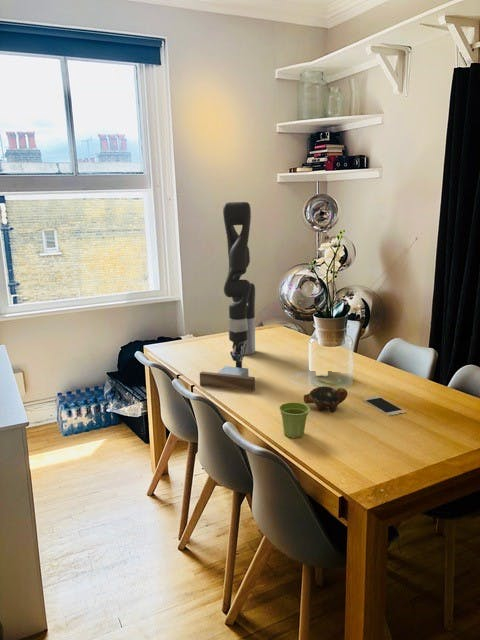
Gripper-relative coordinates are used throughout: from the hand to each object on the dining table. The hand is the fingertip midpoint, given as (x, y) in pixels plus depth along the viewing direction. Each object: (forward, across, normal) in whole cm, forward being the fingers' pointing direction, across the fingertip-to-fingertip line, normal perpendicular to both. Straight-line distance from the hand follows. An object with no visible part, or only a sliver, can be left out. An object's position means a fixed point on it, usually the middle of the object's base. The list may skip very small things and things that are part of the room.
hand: (239, 369), depth 214 cm
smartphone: (+3, +14, +59) cm, 61 cm away
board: (+3, +14, 0) cm, 14 cm away
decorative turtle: (+3, +22, +40) cm, 46 cm away
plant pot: (+2, +45, +35) cm, 57 cm away
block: (+3, +7, 0) cm, 8 cm away
